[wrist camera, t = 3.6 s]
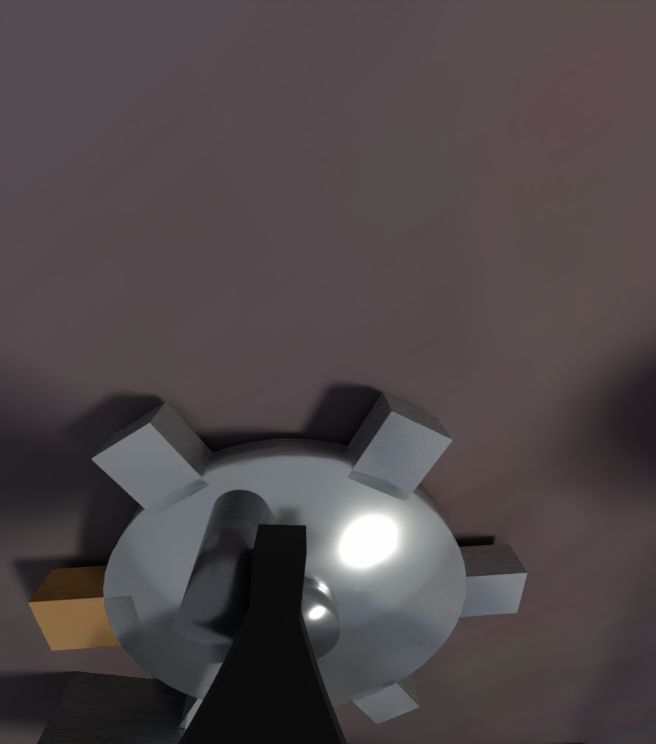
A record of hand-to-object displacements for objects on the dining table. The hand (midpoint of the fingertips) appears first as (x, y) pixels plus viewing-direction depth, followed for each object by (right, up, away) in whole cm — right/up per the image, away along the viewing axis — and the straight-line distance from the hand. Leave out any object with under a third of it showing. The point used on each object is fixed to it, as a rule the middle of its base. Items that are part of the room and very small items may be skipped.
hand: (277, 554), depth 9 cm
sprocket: (0, -3, +4) cm, 5 cm away
